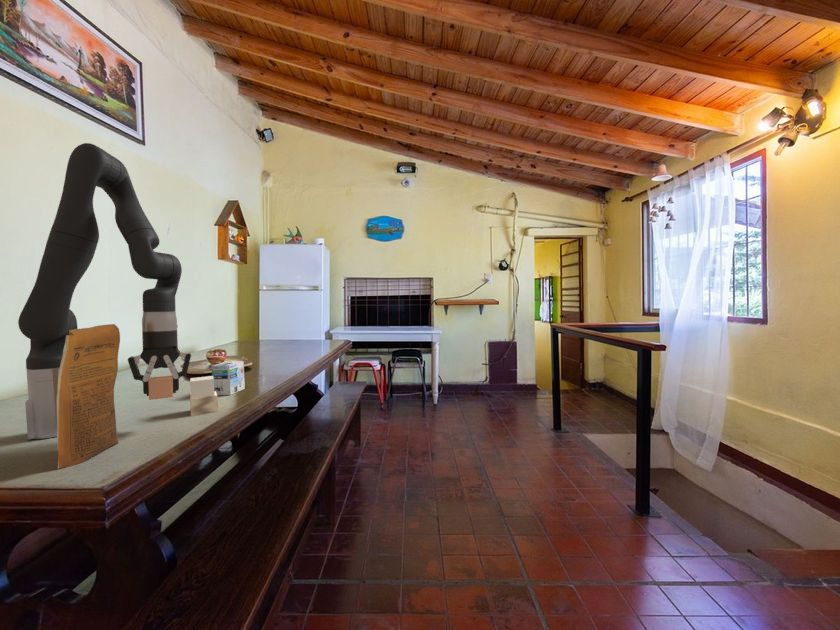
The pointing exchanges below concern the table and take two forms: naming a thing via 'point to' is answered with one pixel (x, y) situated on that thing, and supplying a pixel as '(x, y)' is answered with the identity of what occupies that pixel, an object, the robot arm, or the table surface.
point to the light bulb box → (228, 377)
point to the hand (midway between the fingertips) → (161, 393)
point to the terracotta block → (160, 387)
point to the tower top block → (202, 387)
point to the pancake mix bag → (87, 394)
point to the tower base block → (204, 405)
